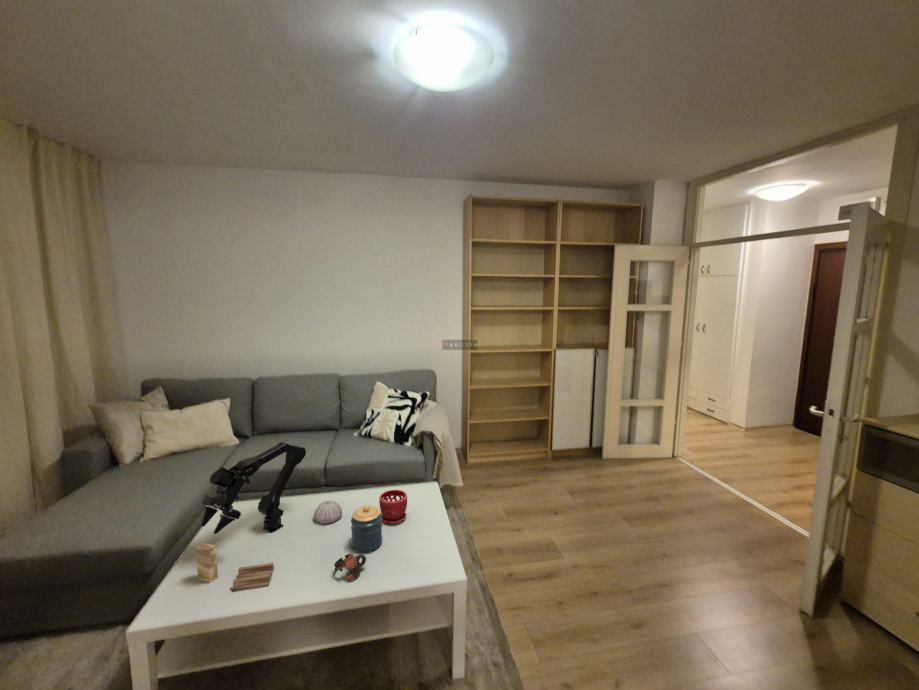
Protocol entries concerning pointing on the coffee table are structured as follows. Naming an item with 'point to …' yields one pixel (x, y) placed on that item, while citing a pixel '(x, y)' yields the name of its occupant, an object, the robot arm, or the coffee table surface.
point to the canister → (366, 529)
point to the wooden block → (206, 562)
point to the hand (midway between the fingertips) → (208, 529)
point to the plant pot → (393, 506)
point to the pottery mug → (351, 565)
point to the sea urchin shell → (327, 512)
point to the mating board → (253, 577)
